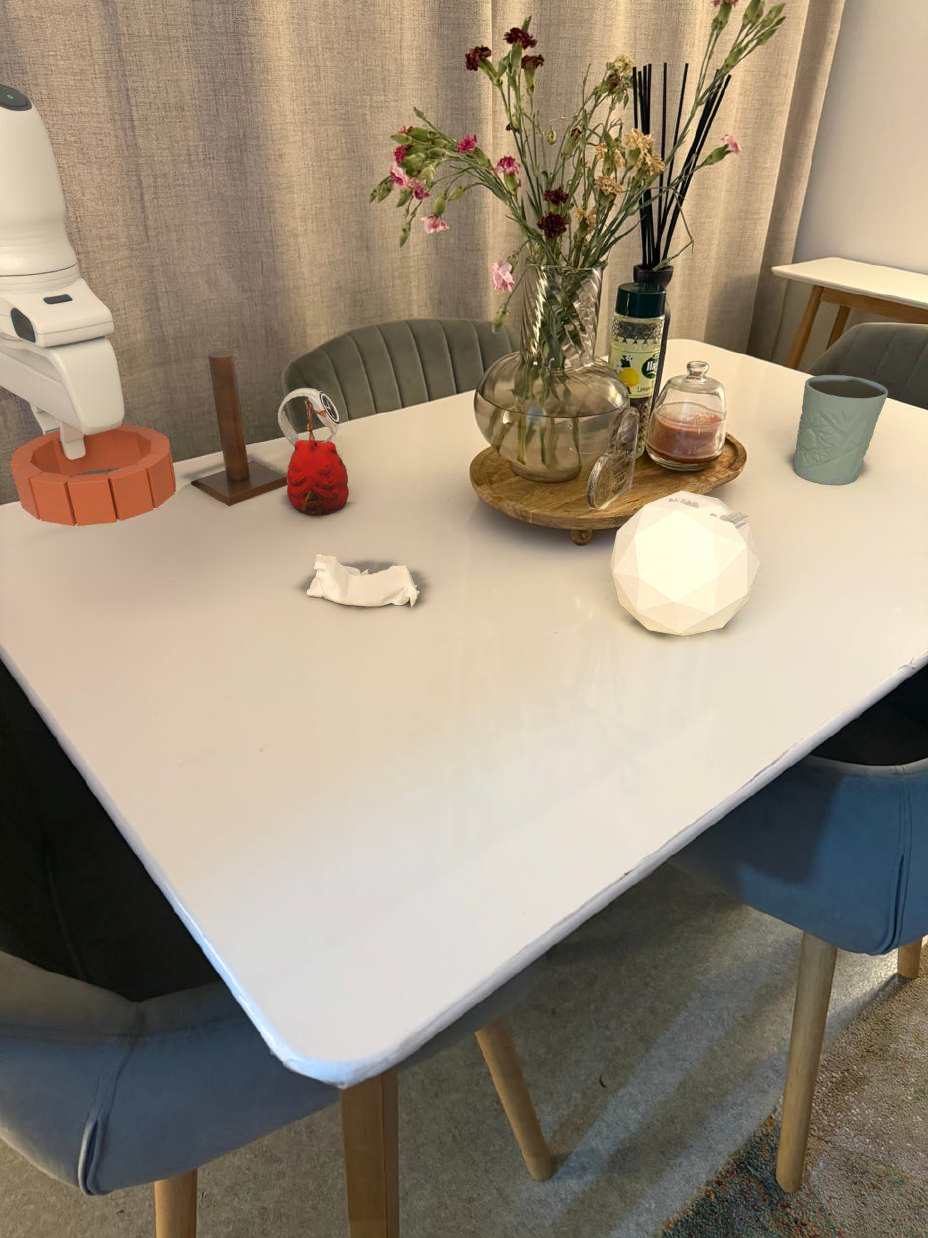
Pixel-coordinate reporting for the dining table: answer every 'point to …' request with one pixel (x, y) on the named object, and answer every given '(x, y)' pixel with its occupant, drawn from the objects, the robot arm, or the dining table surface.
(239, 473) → the peg stand
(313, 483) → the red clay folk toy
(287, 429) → the watch
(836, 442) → the green embossed cup
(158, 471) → the hoop
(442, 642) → the dining table surface
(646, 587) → the geodesic sphere
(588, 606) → the dining table surface
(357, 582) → the fabric
